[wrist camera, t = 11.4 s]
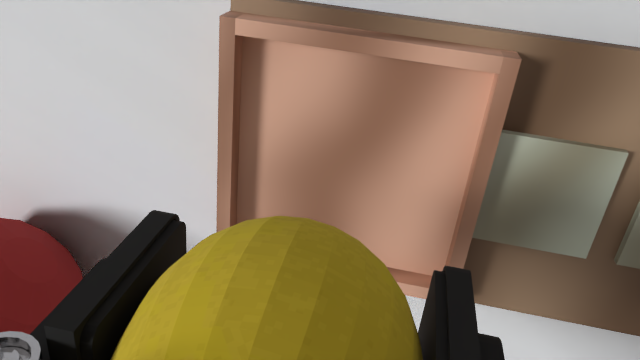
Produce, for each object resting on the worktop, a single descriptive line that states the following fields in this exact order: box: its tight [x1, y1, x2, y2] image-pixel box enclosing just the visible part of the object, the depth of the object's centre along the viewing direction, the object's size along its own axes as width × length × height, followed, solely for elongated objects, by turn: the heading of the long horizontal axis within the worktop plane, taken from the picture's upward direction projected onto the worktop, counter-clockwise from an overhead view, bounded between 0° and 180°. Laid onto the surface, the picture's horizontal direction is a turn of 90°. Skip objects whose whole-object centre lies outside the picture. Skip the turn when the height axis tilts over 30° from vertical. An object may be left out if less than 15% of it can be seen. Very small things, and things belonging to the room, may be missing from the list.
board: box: [217, 0, 640, 336], centre depth 18 cm, size 19×10×2 cm, turn 84°
